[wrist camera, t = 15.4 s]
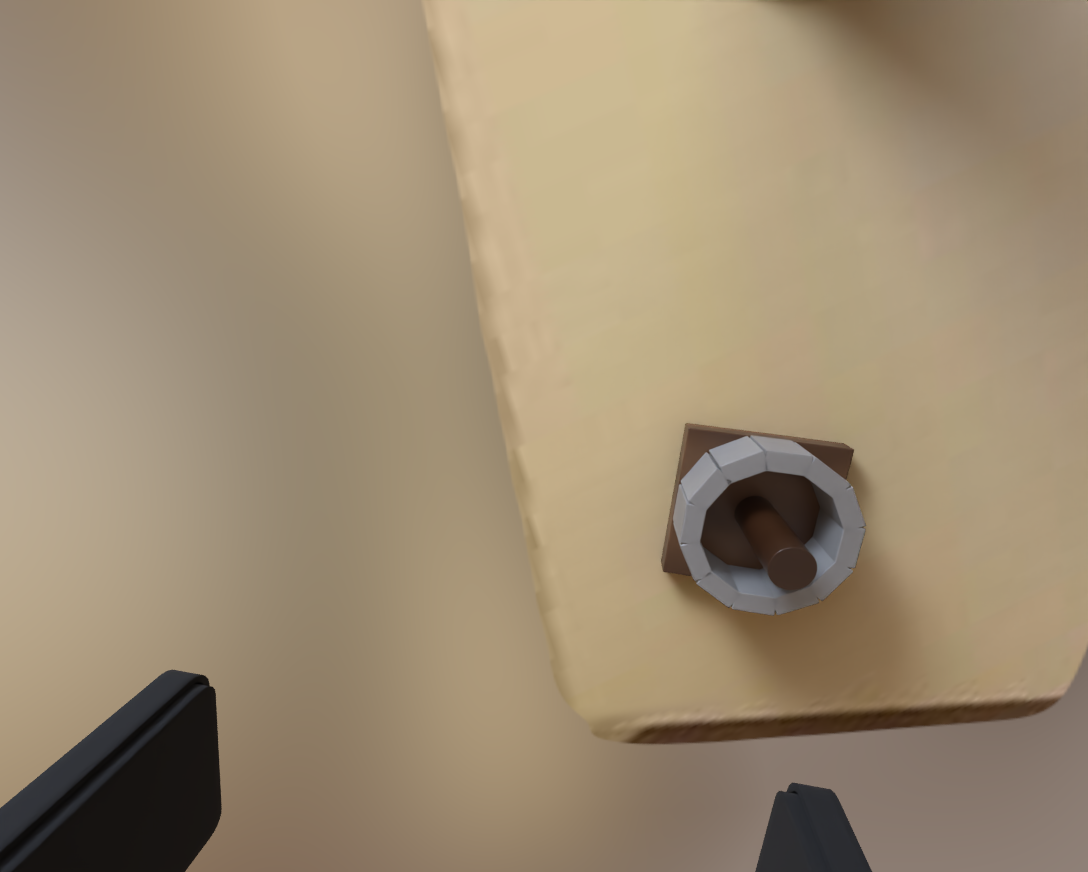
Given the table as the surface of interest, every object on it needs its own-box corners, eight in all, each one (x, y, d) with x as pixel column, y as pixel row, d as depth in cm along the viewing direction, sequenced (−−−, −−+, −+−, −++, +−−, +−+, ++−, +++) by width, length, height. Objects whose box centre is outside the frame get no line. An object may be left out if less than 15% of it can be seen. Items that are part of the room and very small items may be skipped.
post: (685, 422, 35) (710, 462, 27) (844, 443, 34) (924, 490, 26) (660, 561, 38) (676, 639, 29) (808, 584, 37) (869, 670, 28)
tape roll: (689, 426, 34) (698, 441, 30) (855, 448, 33) (884, 465, 30) (663, 571, 36) (668, 599, 33) (817, 594, 35) (839, 626, 32)
